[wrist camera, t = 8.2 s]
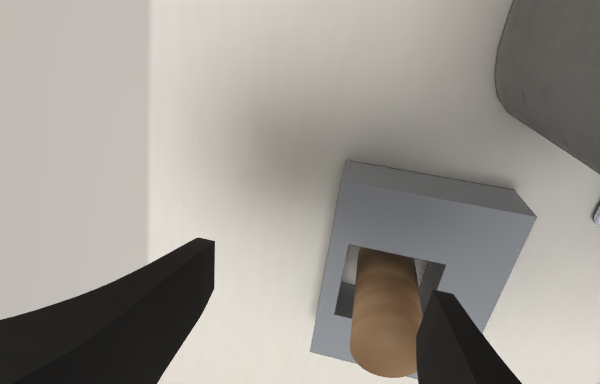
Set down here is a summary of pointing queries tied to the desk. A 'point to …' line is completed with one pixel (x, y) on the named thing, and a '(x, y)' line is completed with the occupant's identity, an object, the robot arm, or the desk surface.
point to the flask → (554, 72)
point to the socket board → (421, 242)
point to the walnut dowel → (385, 314)
